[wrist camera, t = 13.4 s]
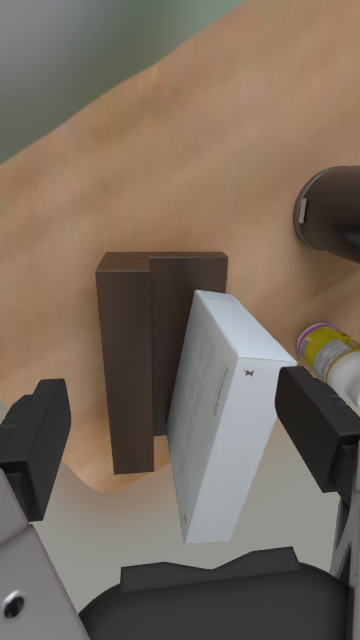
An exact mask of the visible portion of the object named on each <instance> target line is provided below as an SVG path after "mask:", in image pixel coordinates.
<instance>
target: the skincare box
mask: <svg viewBox="0 0 360 640" xmlns="http://www.w3.org/2000/svg"><path fill="white" fill-rule="evenodd" d="M287 366H297V362H296V361H295V360H294V359H293V358H292V357H291V356H290V354H289V353H288V352H287V351H286V350H285V349H284V348H283V347H282V346H281V345H280V344H279V343H278V342H277V341H276V340H275V339H274V338H273V337H272V336H271V335H270V334H269V333H268V332H267V331H266V330H265V329H264V327H263V326H262V325H261V324H260V323H259V322H258V321H257V320H256V319H255V318H254V317H253V316H252V315H251V314H250V313H249V312H248V311H247V310H246V309H245V307H244V306H243V305H242V304H241V303H240V302H239V301H238V300H237V299H236V298H235V297H234V295H230V294H224V293H217V292H210V291H203V290H195V291H194V296H193V301H192V306H191V310H190V315H189V319H188V324H187V329H186V334H185V339H184V344H183V348H182V353H181V357H180V362H179V367H178V371H177V376H176V381H175V386H174V391H173V395H172V400H171V405H170V410H169V414H168V419H167V424H166V432H167V438H168V444H169V450H170V456H171V462H172V469H173V476H174V482H175V489H176V496H177V502H178V509H179V516H180V522H181V529H182V536H183V542H184V544H202V543H223V542H230V540H231V538H232V535H233V532H234V530H235V527H236V524H237V522H238V519H239V516H240V514H241V511H242V508H243V505H244V503H245V500H246V498H247V495H248V492H249V490H250V487H251V484H252V482H253V479H254V476H255V474H256V471H257V468H258V466H259V463H260V460H261V458H262V455H263V453H264V450H265V447H266V445H267V442H268V439H269V437H270V434H271V431H272V429H273V426H274V424H275V420H276V418H277V414H276V410H275V394H276V388H277V382H278V376H279V371H280V368H281V367H287Z"/></svg>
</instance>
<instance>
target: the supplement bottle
mask: <svg viewBox="0 0 360 640" xmlns="http://www.w3.org/2000/svg"><path fill="white" fill-rule="evenodd" d="M296 351H297V354H298V356H299V358H300V359H301V360H302V361H303V362H304V363H305V364H306V365H307V366H308V368H309V369H310V370H311V371H312V372H313V373H314V374H315V375H316V376H317V377H318V378H319V379H320V380H321V381H323V382H325V383H326V384H328V385H329V386H331V387H332V389H333V390H334V391H335V392H336V393H337V394H338V395H339V397H341V398H342V399H343V400H344V401H346V402H353V403H354V404H355V405H356V406H357V407H358V408H359V409H360V344H359V343H358V342H356V341H355V340H353V339H352V338H351V337H349V336H348V335H347V334H345V333H344V332H342V331H341V330H339V329H338V328H337V327H335V326H333V325H331V324H328V323H317V324H314V325H311V326H310V327H308V328H307V329H305V330H304V331H303V332H302V333H301V335H300V336H299V338H298V340H297V344H296Z"/></svg>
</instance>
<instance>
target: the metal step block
mask: <svg viewBox="0 0 360 640" xmlns="http://www.w3.org/2000/svg"><path fill="white" fill-rule="evenodd" d="M227 266H228V257H227V256H226V255H225V254H224V253H223V252H106V253H105V255H104V257H103V259H102V261H101V262H100V264H99V266H98V268H97V270H96V271H95V273H96V284H97V295H98V306H99V316H100V327H101V338H102V349H103V360H104V370H105V381H106V392H107V403H108V414H109V425H110V435H111V446H112V457H113V468H114V475H117V474H129V473H142V472H154V438H153V436H163V435H167V432H166V424H167V419H168V414H169V410H170V405H171V400H172V395H173V391H174V386H175V381H176V376H177V371H178V367H179V362H180V357H181V353H182V348H183V344H184V339H185V334H186V329H187V324H188V319H189V315H190V310H191V306H192V301H193V296H194V291H195V290H203V291H210V292H217V293H224V294H225V290H226V278H227Z"/></svg>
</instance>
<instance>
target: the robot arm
mask: <svg viewBox="0 0 360 640" xmlns="http://www.w3.org/2000/svg"><path fill="white" fill-rule="evenodd" d="M294 225H295V229H296V232H297V234H298V236H299V237H300V239H301V240H302V241H303V242H304V243H305V244H306V245H308V246H310V247H312V248H314V249H317V250H321V251H326V252H328V253H331V254H334V255H337V256H339V257H342V258H345V259H348V260H351V261H354V262H357V263H359V264H360V166H350V167H349V166H340V167H332V168H329V169H326V170H323V171H321V172H320V173H318V174H317V175H315V176H314V177H313V178H312V179H310V180H309V181H308V182H307V184H306V185H305V186H304V188H303V189H302V191H301V192H300V194H299V196H298V199H297V201H296V204H295V209H294ZM275 410H276V414H277V416H278V418H279V419H280V421H281V423H282V424H283V426H284V428H285V429H286V431H287V433H288V435H289V436H290V438H291V440H292V441H293V443H294V445H295V446H296V448H297V450H298V452H299V453H300V455H301V457H302V459H303V460H304V462H305V464H306V465H307V467H308V469H309V470H310V472H311V474H312V475H313V477H314V479H315V480H316V482H317V484H318V486H319V487H320V489H321V491H322V492H323V493H327V492H338V494H339V495H340V497H341V499H340V502H339V506H338V514H337V523H336V531H335V539H334V547H333V555H332V562H331V567H330V571H329V573H328V572H326V571H324V570H322V569H319V568H317V567H315V566H312V565H308V564H305V563H301V562H299V561H298V559H297V557H296V554H295V552H294V550H293V547H292V546H291V547H283V548H275V549H267V550H258V551H252V552H250V553H247V554H245V555H243V556H241V557H239V558H236V559H234V560H232V561H230V562H228V563H226V564H224V565H221V566H219V567H217V568H215V569H203V568H197V567H191V566H186V565H180V564H175V563H169V562H159V563H151V564H143V565H135V566H126V567H121V578H120V584H117V585H115V586H113V587H111V588H109V589H108V590H106V591H104V592H103V593H101V594H100V595H99V596H97V597H96V598H95V599H93V600H92V601H91V602H90V603H89V604H88V605H87V606H86V607H85V608H84V609H83V610H82V611H81V612H80V613H79V614H77V612H76V610H75V608H74V606H73V604H72V602H71V600H70V598H69V596H68V594H67V592H66V590H65V588H64V586H63V584H62V582H61V580H60V578H59V576H58V574H57V572H56V570H55V568H54V566H53V564H52V562H51V560H50V558H49V556H48V553H47V552H46V550H45V548H44V546H43V543H42V542H41V539H40V538H39V535H38V533H37V532H36V530H35V528H34V526H33V525H32V524H29V522H33V521H42V520H43V518H44V515H45V512H46V508H47V505H48V501H49V498H50V495H51V492H52V488H53V485H54V482H55V478H56V475H57V472H58V468H59V465H60V462H61V458H62V455H63V452H64V448H65V445H66V442H67V438H68V435H69V432H70V427H71V411H70V406H69V400H68V394H67V388H66V383H65V380H64V379H63V378H62V379H44V380H40V382H39V383H38V385H37V387H36V389H35V391H34V393H33V394H32V395H24V396H23V397H22V398H20V399H19V400H18V401H17V402H16V403H14V404H13V405H12V406H11V408H10V410H9V412H8V413H7V415H6V416H5V419H4V420H3V421H2V423H1V425H0V640H360V417H359V416H358V415H357V414H356V413H355V412H354V411H353V410H352V409H351V408H350V407H349V406H348V405H346V402H345V401H344V400H343V399H342V398H341V397H339V395H338V394H337V393H336V392H335V391H334V390H333V389H332V387H331V386H329V385H328V384H326V383H325V382H323V381H321V380H320V379H318V378H313V377H312V376H311V374H310V373H309V372H308V371H307V370H306V369H305V368H304V367H303V366H287V367H281V368H280V371H279V376H278V382H277V388H276V394H275Z"/></svg>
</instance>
